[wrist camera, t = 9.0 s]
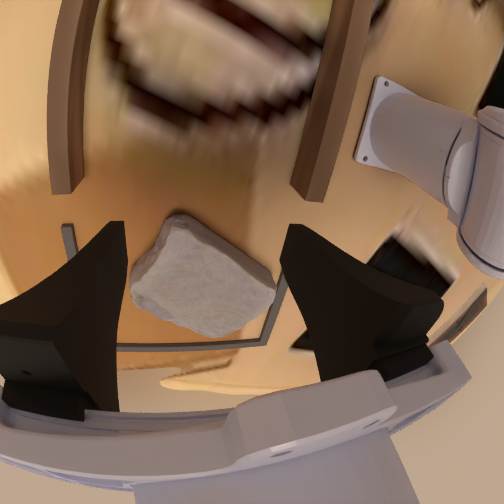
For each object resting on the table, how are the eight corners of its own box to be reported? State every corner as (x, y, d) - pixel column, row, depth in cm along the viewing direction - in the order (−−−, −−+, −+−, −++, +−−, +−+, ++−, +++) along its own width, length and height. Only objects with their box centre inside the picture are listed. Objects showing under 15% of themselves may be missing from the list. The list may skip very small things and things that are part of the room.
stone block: (213, 311, 31) (281, 267, 27) (213, 348, 28) (289, 308, 23) (123, 262, 25) (182, 195, 20) (110, 302, 21) (172, 236, 17)
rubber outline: (304, 227, 24) (306, 230, 24) (265, 342, 34) (266, 345, 34) (62, 224, 18) (60, 227, 18) (99, 347, 28) (98, 350, 27)
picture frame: (481, 281, 48) (421, 341, 55) (486, 288, 46) (426, 349, 53) (482, 300, 57) (432, 349, 64) (487, 305, 55) (436, 355, 62)
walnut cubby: (357, -32, 10) (379, -39, 8) (306, 186, 22) (322, 202, 20) (106, -69, 5) (97, -85, 2) (66, 177, 16) (52, 194, 14)
